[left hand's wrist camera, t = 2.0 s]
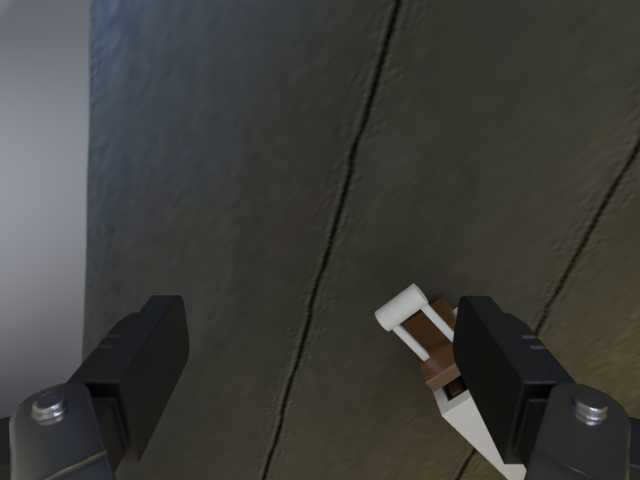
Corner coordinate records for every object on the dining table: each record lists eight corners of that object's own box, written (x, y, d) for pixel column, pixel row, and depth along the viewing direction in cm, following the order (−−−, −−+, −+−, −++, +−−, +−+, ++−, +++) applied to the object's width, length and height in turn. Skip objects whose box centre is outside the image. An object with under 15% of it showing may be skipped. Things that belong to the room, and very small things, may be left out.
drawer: (364, 281, 35) (375, 334, 28) (402, 251, 34) (424, 298, 27) (497, 418, 41) (535, 491, 34) (533, 396, 40) (580, 467, 33)
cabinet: (413, 337, 38) (441, 415, 29) (460, 304, 37) (505, 376, 28) (506, 433, 43) (556, 526, 34) (552, 407, 42) (615, 496, 33)
